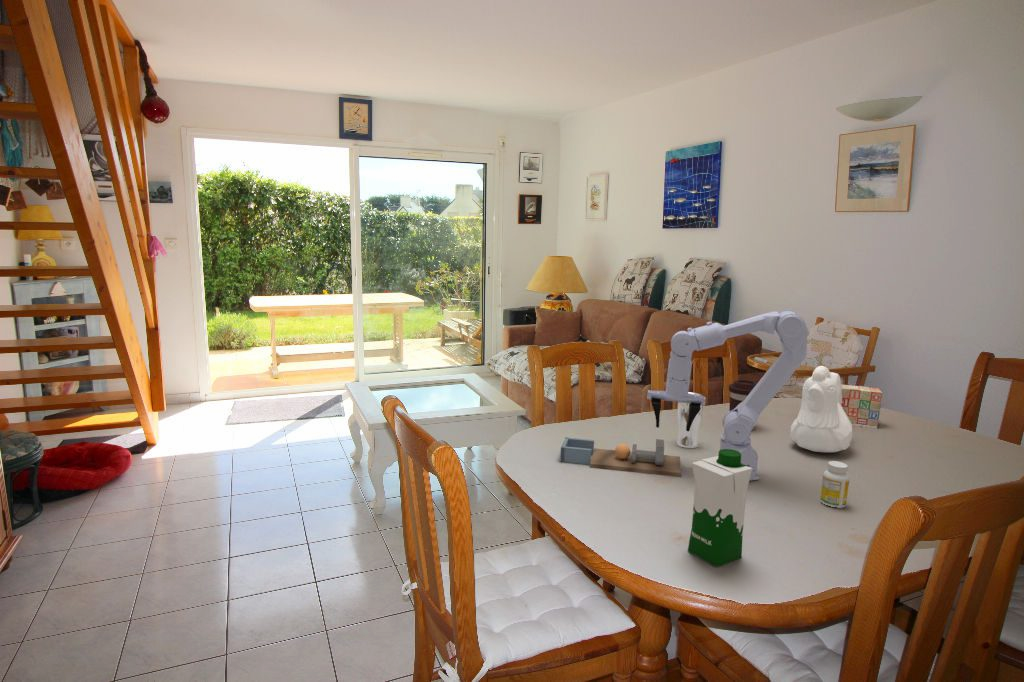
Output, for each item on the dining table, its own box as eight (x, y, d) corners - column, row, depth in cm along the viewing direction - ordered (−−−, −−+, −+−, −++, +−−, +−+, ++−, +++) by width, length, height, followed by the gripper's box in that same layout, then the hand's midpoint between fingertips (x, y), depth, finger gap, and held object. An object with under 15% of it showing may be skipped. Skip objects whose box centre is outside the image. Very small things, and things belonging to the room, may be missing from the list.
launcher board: (679, 460, 167) (679, 456, 167) (681, 476, 155) (681, 472, 155) (594, 451, 172) (594, 448, 172) (589, 467, 160) (589, 463, 160)
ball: (632, 460, 163) (633, 446, 162) (618, 461, 162) (619, 447, 161) (625, 455, 167) (626, 441, 166) (612, 456, 166) (613, 442, 165)
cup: (593, 453, 170) (594, 440, 169) (590, 464, 162) (591, 450, 161) (564, 451, 172) (565, 437, 171) (560, 461, 164) (560, 447, 163)
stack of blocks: (804, 420, 206) (808, 384, 204) (803, 415, 212) (807, 380, 210) (877, 429, 198) (882, 392, 196) (874, 423, 204) (879, 387, 202)
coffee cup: (718, 425, 199) (722, 379, 196) (741, 421, 203) (745, 377, 200) (741, 434, 190) (746, 387, 187) (765, 430, 194) (770, 384, 191)
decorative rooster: (830, 464, 166) (841, 374, 162) (775, 447, 178) (784, 363, 174) (872, 446, 181) (883, 364, 176) (819, 432, 193) (828, 354, 189)
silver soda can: (697, 441, 182) (700, 392, 180) (701, 449, 175) (705, 398, 173) (673, 440, 183) (676, 391, 180) (677, 448, 176) (680, 397, 173)
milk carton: (748, 558, 116) (758, 457, 113) (716, 571, 112) (725, 466, 108) (711, 538, 124) (719, 443, 120) (679, 550, 119) (687, 451, 116)
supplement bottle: (828, 509, 138) (833, 468, 137) (815, 499, 144) (819, 459, 142) (851, 508, 139) (856, 468, 137) (836, 498, 144) (841, 459, 143)
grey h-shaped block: (662, 457, 165) (663, 439, 164) (662, 465, 159) (664, 447, 158) (632, 454, 166) (633, 436, 166) (631, 462, 161) (632, 444, 160)
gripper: (706, 377, 161) (699, 427, 163) (649, 371, 164) (644, 420, 166) (709, 383, 154) (702, 435, 156) (649, 377, 157) (644, 428, 159)
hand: (672, 428), depth 161 cm, fingers open, 7 cm apart
